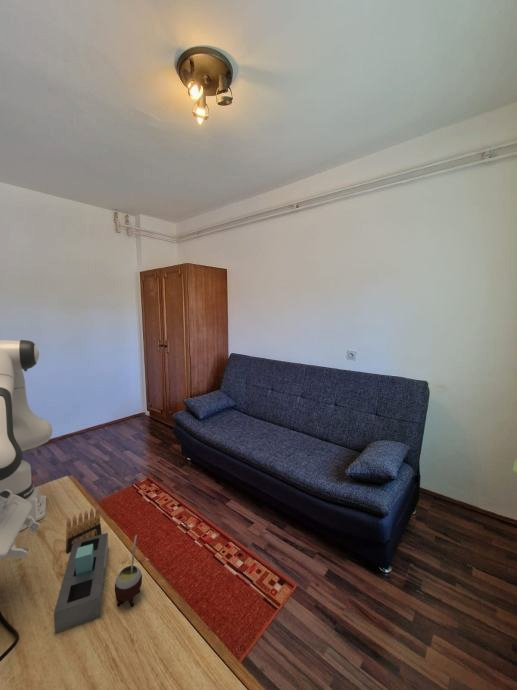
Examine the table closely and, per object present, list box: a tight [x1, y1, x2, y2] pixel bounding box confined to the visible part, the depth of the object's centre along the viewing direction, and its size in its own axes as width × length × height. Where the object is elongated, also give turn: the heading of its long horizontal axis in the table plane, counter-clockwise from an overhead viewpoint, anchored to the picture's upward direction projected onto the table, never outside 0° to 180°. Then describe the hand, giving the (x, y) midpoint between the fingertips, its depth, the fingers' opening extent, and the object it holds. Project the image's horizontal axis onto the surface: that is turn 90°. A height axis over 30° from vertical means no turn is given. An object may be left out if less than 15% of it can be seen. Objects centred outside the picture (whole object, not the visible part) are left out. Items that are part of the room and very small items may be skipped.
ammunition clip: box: [65, 505, 102, 554], centre depth 97 cm, size 11×2×12 cm, turn 137°
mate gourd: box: [114, 534, 143, 609], centre depth 78 cm, size 8×8×15 cm
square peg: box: [75, 544, 94, 576], centre depth 82 cm, size 4×4×10 cm
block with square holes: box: [53, 532, 109, 635], centre depth 82 cm, size 24×10×6 cm, turn 24°
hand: (31, 540), depth 76 cm, fingers open, 8 cm apart
